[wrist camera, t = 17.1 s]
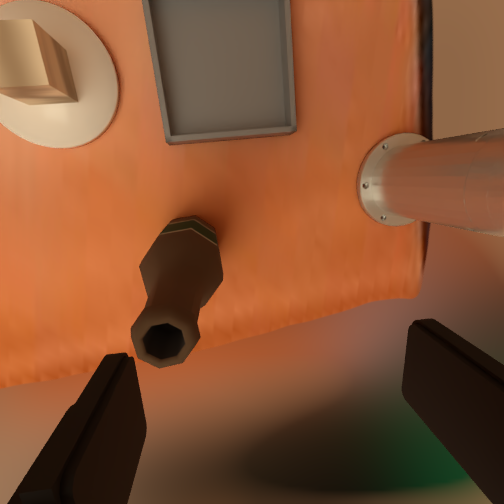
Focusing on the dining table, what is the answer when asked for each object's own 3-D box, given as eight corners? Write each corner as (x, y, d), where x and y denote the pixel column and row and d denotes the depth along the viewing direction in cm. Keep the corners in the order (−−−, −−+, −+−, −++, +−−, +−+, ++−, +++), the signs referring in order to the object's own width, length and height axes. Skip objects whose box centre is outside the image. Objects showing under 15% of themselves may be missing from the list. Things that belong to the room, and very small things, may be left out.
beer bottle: (224, 220, 38) (251, 286, 15) (213, 274, 39) (221, 409, 16) (165, 207, 36) (91, 260, 13) (156, 264, 38) (76, 399, 15)
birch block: (66, 50, 29) (31, 19, 24) (78, 102, 31) (49, 85, 25) (14, 52, 29) (-34, 21, 23) (29, 105, 30) (-13, 88, 24)
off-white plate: (103, 3, 30) (99, -3, 29) (131, 143, 33) (129, 142, 33) (-43, 7, 28) (-52, 1, 27) (4, 154, 32) (-3, 153, 31)
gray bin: (281, -8, 32) (288, -26, 29) (289, 134, 36) (296, 131, 33) (144, -5, 30) (137, -24, 27) (169, 145, 34) (165, 142, 31)
